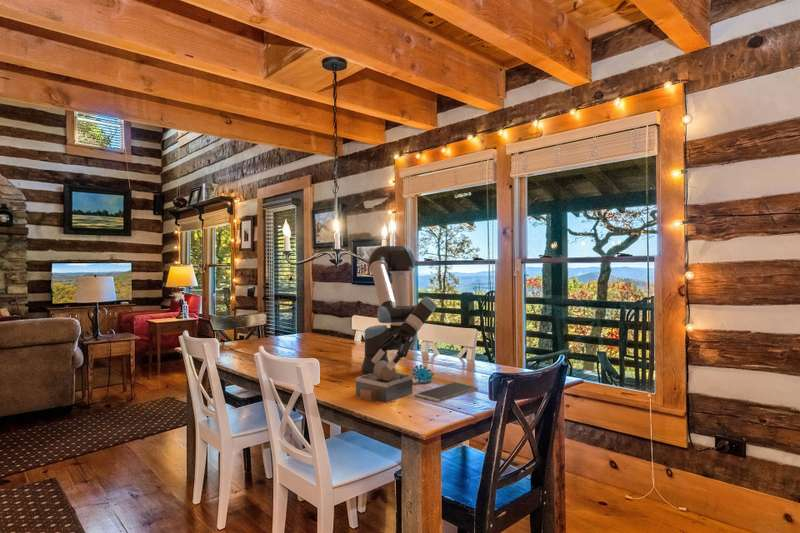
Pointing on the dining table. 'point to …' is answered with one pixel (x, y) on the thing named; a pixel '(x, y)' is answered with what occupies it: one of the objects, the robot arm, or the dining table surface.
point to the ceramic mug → (384, 371)
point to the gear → (422, 374)
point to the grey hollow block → (383, 387)
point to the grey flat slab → (446, 392)
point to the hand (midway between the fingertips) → (380, 365)
